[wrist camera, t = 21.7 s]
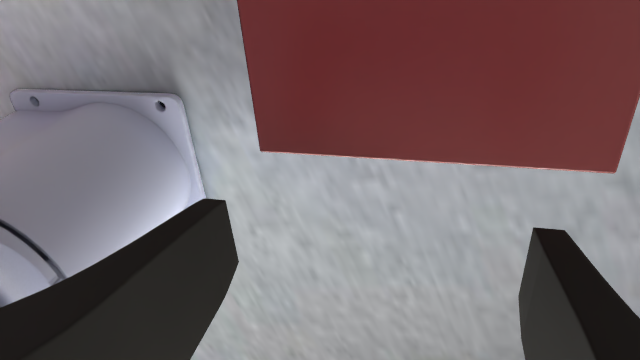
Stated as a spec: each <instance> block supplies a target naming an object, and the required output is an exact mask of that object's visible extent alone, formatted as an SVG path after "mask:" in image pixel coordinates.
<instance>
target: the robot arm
mask: <svg viewBox="0 0 640 360" xmlns="http://www.w3.org/2000/svg"><path fill="white" fill-rule="evenodd" d="M36 98H37V99H38V101H37V99H36ZM10 100H11V102H12V104H13V107H14V109H15V112H14V113H12V114H10V115H8V116H6V117H4V118H2V119H0V360H190V359H191V357H192V355H193V354H194V352H195V350H196V348H197V346H198V345H199V343H200V341H201V339H202V338H203V336H204V334H205V332H206V330H207V329H208V327H209V325H210V323H211V322H212V320H213V318H214V316H215V314H216V313H217V311H218V309H219V307H220V305H221V303H222V302H223V300H224V298H225V296H226V293H227V291H228V289H229V286H230V284H231V281H232V279H233V276H234V273H235V271H236V268H237V265H238V262H239V261H238V256H237V252H236V247H235V242H234V238H233V233H232V229H231V224H230V219H229V215H228V210H227V206H226V201H225V200H215V199H206V196H205V192H204V188H203V183H202V179H201V175H200V171H199V167H198V163H197V158H196V154H195V150H194V146H193V142H192V137H191V133H190V129H189V125H188V121H187V117H186V112H185V108H184V104H183V102H182V100H181V99H180V97H179V96H177V95H175V94H172V93H142V92H109V91H77V90H44V89H16V90H14V91H12V92H11V93H10ZM159 101H161V102H163V103H164V105H165V108H163V107H162V106H161V105H160V103H159ZM519 312H520V326H521V339H522V344H523V350H524V355H525V360H640V318H639V317H638V316H637V315H636V314H635V313H634V312H633V311H632V310H631V309H630V307H629V306H628V305H627V304H626V303H625V302H624V301H623V300H622V298H621V297H620V296H619V295H618V294H617V293H616V292H615V291H614V289H613V288H612V287H611V286H610V285H609V284H608V282H607V281H606V280H605V279H604V278H603V277H602V275H601V274H600V273H599V272H598V271H597V269H596V268H595V267H594V266H593V264H592V263H591V262H590V261H589V260H588V258H587V257H586V256H585V255H584V253H583V252H582V251H581V250H580V248H579V247H578V246H577V245H576V243H575V242H574V241H573V240H572V238H571V237H570V236H569V235H568V234H567V233H566V231H565V230H556V229H544V228H533V231H532V236H531V241H530V245H529V250H528V255H527V259H526V264H525V269H524V273H523V278H522V282H521V287H520V292H519Z"/></svg>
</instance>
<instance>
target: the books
mask: <svg viewBox="0 0 640 360" xmlns="http://www.w3.org/2000/svg"><path fill="white" fill-rule="evenodd" d="M237 4H238V10H239V17H240V23H241V30H242V36H243V43H244V49H245V55H246V62H247V68H248V75H249V81H250V88H251V94H252V101H253V107H254V114H255V120H256V126H257V133H258V139H259V146H260V151H261V152H273V153H289V154H305V155H321V156H338V157H354V158H370V159H386V160H402V161H419V162H435V163H451V164H467V165H484V166H500V167H516V168H532V169H549V170H565V171H581V172H597V173H615V172H616V170H617V167H618V164H619V161H620V158H621V154H622V151H623V148H624V145H625V142H626V138H627V135H628V132H629V129H630V126H631V122H632V119H633V116H634V113H635V110H636V107H637V103H638V100H639V97H640V0H237Z"/></svg>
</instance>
